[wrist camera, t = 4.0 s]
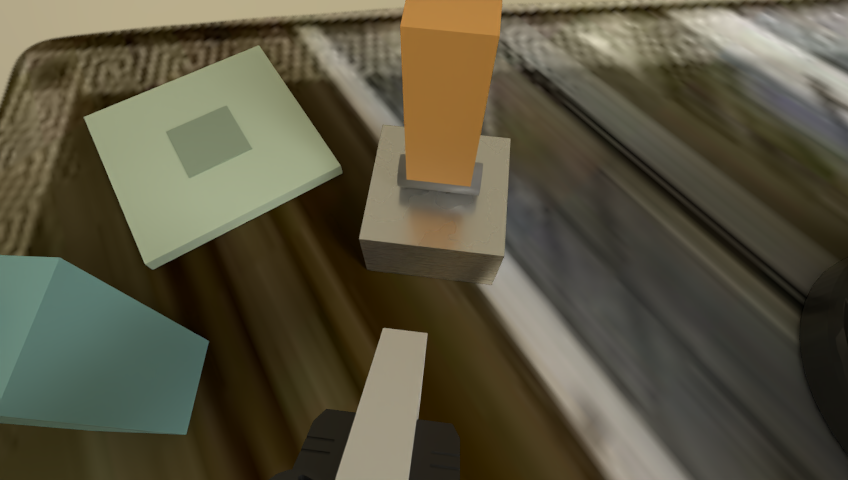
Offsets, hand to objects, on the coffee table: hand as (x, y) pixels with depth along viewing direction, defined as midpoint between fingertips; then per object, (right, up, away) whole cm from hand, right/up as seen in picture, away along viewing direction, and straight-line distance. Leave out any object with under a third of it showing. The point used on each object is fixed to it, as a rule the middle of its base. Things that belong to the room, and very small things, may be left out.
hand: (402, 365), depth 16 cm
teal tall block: (-13, -3, +7) cm, 15 cm away
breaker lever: (+2, +7, +7) cm, 10 cm away
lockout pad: (-13, +10, +13) cm, 21 cm away
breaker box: (+1, +5, +11) cm, 13 cm away
